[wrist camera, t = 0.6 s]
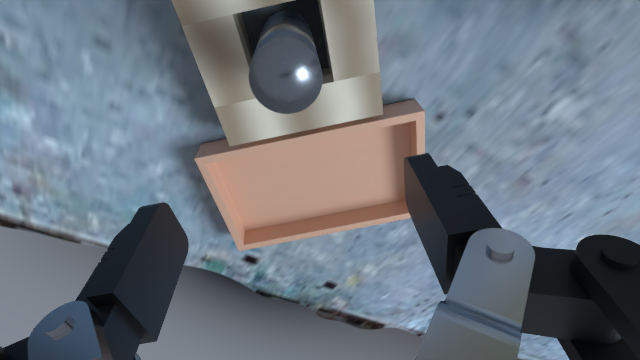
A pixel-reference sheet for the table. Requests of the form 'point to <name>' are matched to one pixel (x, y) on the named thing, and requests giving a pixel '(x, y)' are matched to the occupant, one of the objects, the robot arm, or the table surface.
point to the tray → (315, 177)
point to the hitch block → (236, 55)
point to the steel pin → (285, 65)
